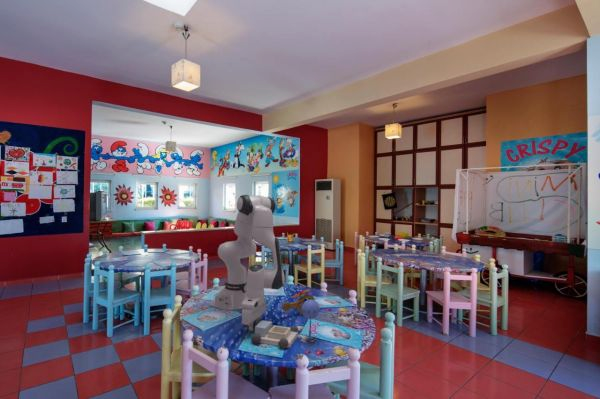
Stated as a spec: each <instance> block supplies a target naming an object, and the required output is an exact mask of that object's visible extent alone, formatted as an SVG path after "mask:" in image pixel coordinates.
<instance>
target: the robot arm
mask: <svg viewBox="0 0 600 399" xmlns="http://www.w3.org/2000/svg"><path fill="white" fill-rule="evenodd" d="M276 207H277V206H276V201H275V199H274V198H272V197H269V196H263V195H252V194H251V195H249V194H241V195H240V196H239V197H238V199H237V201H236V209H237V210H238V211H237V215H236V219H235V221H234V227H233V232H234V234H235V235H236V236H237V239H236V240H231V241H225V242H224V243H221V244H219V247H218V248H217V256H218V257H219V259H221V261H223V262H224V264H225V266H226V270H227V281H226V282H224V283H223V286H224V288H222V289H220V291H219V292H217V293H216V295H215V297H214V300H213V301H211V303H210V307H212V308H216V307H217V309H220V308H221V309H220V310H225V311H229V312H230V311H234V310H241V323H242V324H243V325H244V326H248V325H249V330H253V329H254V326H253V322H254V321H255V320H256V319H257V318H258V319H259V320H261V317H262V315H263V314H264V313H265V312H266V310H267V302H266V300H267V299H266V298H265V290H264V289H271V290H277V291H279V290H280V289H282V287H283V286H285V281H286V279H285V278H286V276H285V273H284V267H283V260H282V252H281V244H280V241H279V239H278V237H276V236H275V233H274V216H273V214H274V213H275V211H276ZM257 244H258V245H260V246H263V247H264V248H267V249H268V250H269V251H270V252H271V253H272V259H273V269H272V268H264V266H263V265H262V264H253V265H250V266H248V268H246V267H245V266H244V265H243V264H241V259H246V258H249V257H252V256H254V255H255V254H256V252H257Z"/></svg>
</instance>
